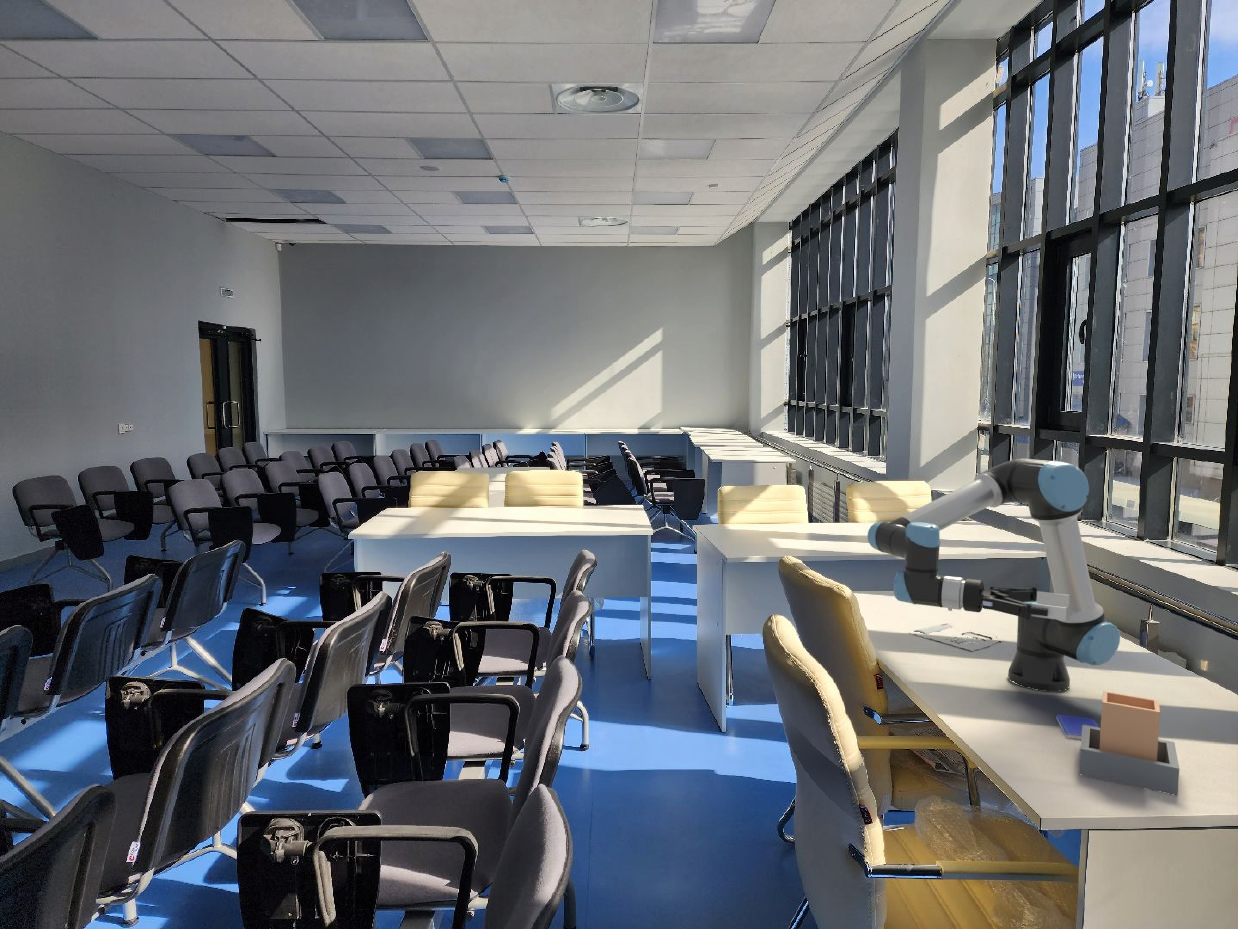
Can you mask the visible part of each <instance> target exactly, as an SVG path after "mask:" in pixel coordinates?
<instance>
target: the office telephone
mask: <svg viewBox="0 0 1238 929" xmlns="http://www.w3.org/2000/svg"><path fill="white" fill-rule="evenodd" d="M952 627H954V625H952V624H951V623H941V624H937V625H932V626H929V627H923V628H920V629H916V630H913V631H914V632H920V633H923V634H926V635H927V634H929V633H932V632H940V631H942V630H945V629H948V628H952ZM974 637H975V638H978V637H976V636H974ZM997 637H998V636H996V638H997ZM952 638H957V637H951V638H949V639H951V640H950V641H951V642H955V643H957V644H960V643H963V642H966V641H968V640H966V639H964V640H965V641H964V640H960V641H958V640H959V639H961V638H962V637H961V638H959V639H957V640H956V639H954V640H952ZM967 638H968V637H967ZM949 639H945V640H949ZM975 641H976V640H975ZM968 643H971V642H968ZM973 643H975V642H973ZM973 643H971V644H973ZM965 644H967V643H965ZM975 644H978V643H975Z"/></svg>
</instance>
